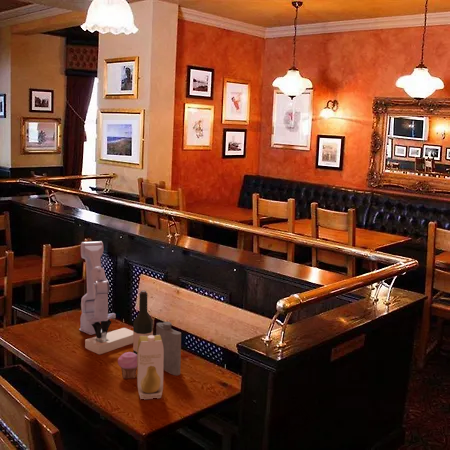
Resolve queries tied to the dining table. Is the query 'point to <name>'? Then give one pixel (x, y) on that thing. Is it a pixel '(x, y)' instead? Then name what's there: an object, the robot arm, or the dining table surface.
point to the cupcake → (128, 364)
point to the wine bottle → (142, 321)
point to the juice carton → (150, 366)
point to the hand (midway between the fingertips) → (101, 336)
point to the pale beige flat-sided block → (110, 341)
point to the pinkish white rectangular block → (102, 337)
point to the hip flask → (170, 347)
